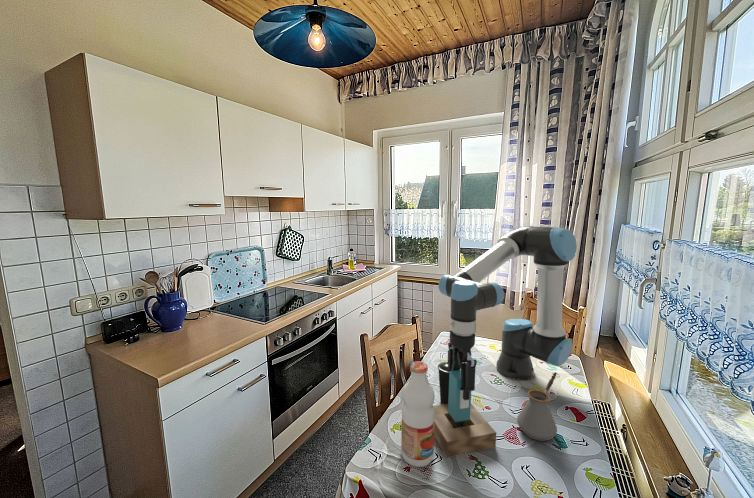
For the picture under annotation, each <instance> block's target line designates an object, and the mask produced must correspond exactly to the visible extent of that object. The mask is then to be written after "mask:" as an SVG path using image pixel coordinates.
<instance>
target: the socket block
mask: <svg viewBox="0 0 754 498" xmlns="http://www.w3.org/2000/svg"><path fill="white" fill-rule="evenodd" d="M433 407H434V414H435V420H434V439H435V440H436V441H437V443H438V445H439V447H440V448H441V450H442V451H443V454H444V455H445V456H446V458H451V457H456V456H462V455H466V454H471V453H475V452H476V453H477V452H481V451H485V450H491V449H495V448H496V446H497V445H496V444H497V443H496V442H497V431H496V430H495V429H494V428H493V427H492V426H491V425H490V424H489V421H487V419H485V418H484V417H483V415H482V414H481V413H480V412H479V410H478V409H477V408H476V407H475V406H474V405H473V404H472V403H471V408H470V420H465V421H459V422H455V421H454V420H453V418H452V417H451V415H450V414H449V413H448V404H437V405H433ZM460 425H462V426H460ZM455 426H460V427H456V428H455Z"/></svg>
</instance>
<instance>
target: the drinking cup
mask: <svg viewBox="0 0 754 498" xmlns="http://www.w3.org/2000/svg"><path fill="white" fill-rule="evenodd" d="M448 354H449V349H447V355H448ZM451 368H452V367H451ZM437 369H438V379H439V380H438V382H439V394H440V395H439V397H440V398H439V399H440V403H441V405H443V404H448V397H449V372H448V361H446V362H445V361H443V362H440V363H439V364H438V365H437Z"/></svg>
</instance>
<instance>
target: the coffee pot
mask: <svg viewBox="0 0 754 498" xmlns="http://www.w3.org/2000/svg"><path fill="white" fill-rule="evenodd" d="M557 375H558V378H560V374H558V373H557V372H556V371H554V372H553V373H552V375H551V377H550V379H549V380H548V383H547V385H546V387H545V390H544V391H542V390H540V389H530V390H528V391H527V396H528V398H529V399H528V400H527V402H526V403H525V405H524V406H523V407H522V409H521V411H520V413H519V414H518V415H517V417H516V421H517V424H518V427H519V428H520V430H521V431H522V432H523V433H524V434H525V435H526V436H527V437H529V438H530V439H532V440H536V441H540V442H545V441H548V440H551V439H553V438H554V437H555V436H556V435H557V432H558V428H557V425H556V422H555V419H554V417H553V414H552V412H551V409H550V407H549V403H551V402H552V400H551V396H550V395H549V394H548V392H549V390H550V389H551V387H552V386H553V384H554V381H555V380H556V378H557Z"/></svg>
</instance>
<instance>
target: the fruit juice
mask: <svg viewBox="0 0 754 498" xmlns="http://www.w3.org/2000/svg"><path fill="white" fill-rule="evenodd" d="M428 369H429V367H428V364H427V362H423V361H418V360H416V361H413V362H411V363H410V366H409V370H410V376H409V380H408V382H406V383H405V384H404V386H403V388H402V395H401V396H402V400H403V404H402V407H401V429H400V430H401V431H400V432H401V434H400V435H401V437H400V438H401V441H400V443H401V446H400V448H401V450H400V451H401V457H402V458H403V460H404V461H405V462H406V463H407V464H408V465H410V466H411V467H416V468H421V467H427V466H428V465H429V464H430V463H432V461H433V458H434V452H435V451H434V449H435V448H434V447H435V446H434V445H435V436H434V420H435V414H434V407H433V406H434V401H435V391H434V388H433V387H432V385H431V383H430V382H429V380H428V376H427V373H428V371H429V370H428Z"/></svg>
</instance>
